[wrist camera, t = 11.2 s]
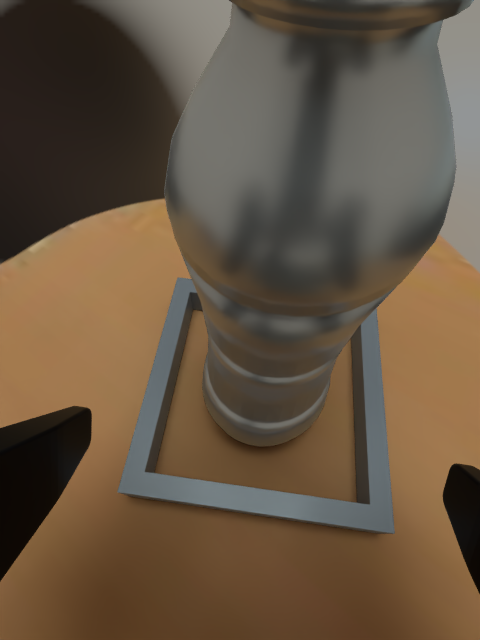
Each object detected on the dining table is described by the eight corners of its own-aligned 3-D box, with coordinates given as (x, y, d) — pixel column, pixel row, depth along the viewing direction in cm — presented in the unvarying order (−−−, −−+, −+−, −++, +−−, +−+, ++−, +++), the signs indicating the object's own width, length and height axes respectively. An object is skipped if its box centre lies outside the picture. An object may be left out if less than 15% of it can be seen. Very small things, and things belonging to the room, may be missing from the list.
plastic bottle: (182, 407, 20) (-101, -265, 3) (252, 327, 23) (298, -260, 6) (274, 482, 18) (792, -242, 1) (339, 384, 21) (772, -250, 4)
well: (378, 533, 17) (394, 533, 16) (128, 495, 18) (117, 492, 16) (365, 316, 24) (375, 299, 22) (181, 295, 24) (177, 277, 23)
